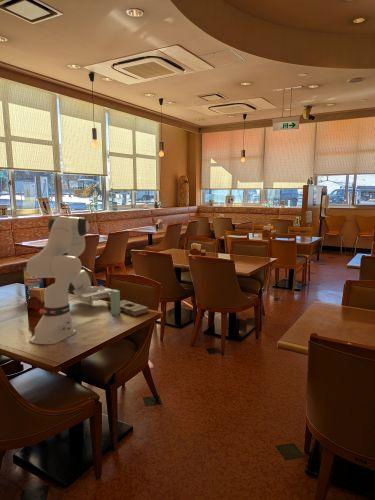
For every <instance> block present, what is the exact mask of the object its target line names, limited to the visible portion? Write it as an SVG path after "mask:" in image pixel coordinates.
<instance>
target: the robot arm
mask: <svg viewBox="0 0 375 500" xmlns="http://www.w3.org/2000/svg"><path fill="white" fill-rule="evenodd" d="M47 228H48V229H47V230H48V232H49V234H48V235H49V236H48V238H47V242H46V244H45V246H44V247H43V248H42V249H41V250H40V251H39V252H38V253H37V254H35V255H33V256H32V257H30V258H29V259H28V260H27V262H26V267H27V271H28V273H29V275H30V276H33V277H38V278H43V279H46V278H47V279H49V278H50V279H51V278H53V279H55V281H54V283H52V284H50V285H48V287H47V286H46V288H44V289H45V291H44V306H43V308H42V309H39V314H42V316H41V318H40V319H39V321H38V323H37V325H36V326H35V327H34V335H33V336H31V338H29V343H32V344H37V345H55V344H57V343H59V342H61V341H63V340H65V339H68V338H69V337H72V336H73V335H75V334H76V333H77V332H76V331H77V330H76V329H75V327H74V323H73V322H74V321H73V316H72V315H71V312H70V311H71V309H70V308H71V305H70V303H69V293H73V294H74V295H75V296H77V299H79V300H80V301H82V302H83V303H89V302H94V301H95V302H97V301H99V300H100V299H104V298H105V299H106V298H110V290H113V289H112V288H108V287H105V286H103V285H100V286H99V285H98V286H97V285H96V286H95V285H94V286H93V285H92V281H93V280H92V276H91V274H90V272H88V271H87V270H85V269H82V267H83V266H82V261H81V259H80V258H79V256H81V255H82V254H83V253H84V251H85V249H86V238H85V236H86V235H87V234H88V233H89V231H90V224H89V220H88V218H86V217H83V216H79V217H78V216H67V215H66V216H65V215H59V216H54V217H51V218H50V219H49V220H48V222H47Z"/></svg>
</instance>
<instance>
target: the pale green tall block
mask: <svg viewBox="0 0 375 500" xmlns="http://www.w3.org/2000/svg"><path fill="white" fill-rule="evenodd" d="M120 293H121V290H119V289H112V290H110V297H109V299H110V314H111V315H112V314H114V315H113V316H115V315H118V316H120V315H119V314H121V311H120V301H121V294H120Z"/></svg>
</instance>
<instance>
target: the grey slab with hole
mask: <svg viewBox="0 0 375 500" xmlns="http://www.w3.org/2000/svg"><path fill="white" fill-rule="evenodd" d="M121 311H123V312H122V313H124V312H125V313H124V314H126V313H128V314H127V315H129V314H131V315H130V316H132V315H133V316H132V317H137V315H138V316H139V315H140V314H141V315H143V313H144V314H146V312H147V313H149V307H148V306H145V305H143V304H139V303H135V302H132V301H130V300H126V299H122V300H120V312H121Z"/></svg>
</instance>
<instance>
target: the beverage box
mask: <svg viewBox="0 0 375 500" xmlns="http://www.w3.org/2000/svg"><path fill="white" fill-rule="evenodd" d="M23 279H24V280H23V281H24V291H25V294H24V295H25V303H26V302H27V299H28V298H29V294H28V292H27V291H28V289H30V288H33V287H39V288H44V278H38V277H33V276H30V275H29V273H28V271H27V266H26V267H23Z"/></svg>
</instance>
